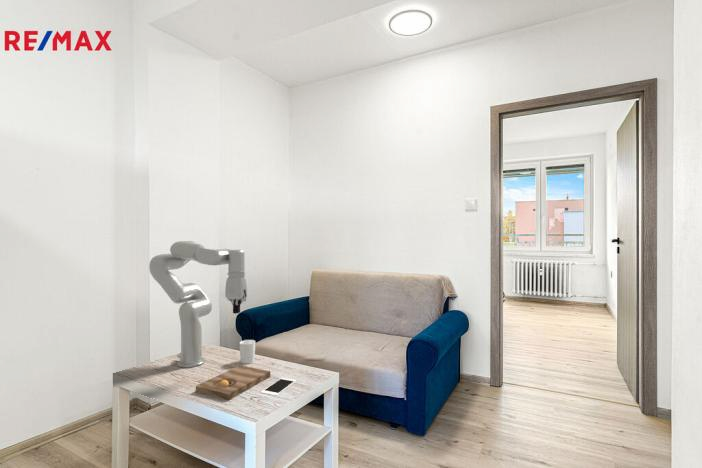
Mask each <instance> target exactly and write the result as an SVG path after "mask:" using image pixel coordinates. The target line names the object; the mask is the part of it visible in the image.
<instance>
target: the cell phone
mask: <svg viewBox="0 0 702 468" xmlns="http://www.w3.org/2000/svg"><path fill="white" fill-rule="evenodd" d="M296 382H297V379H292V378H287V377H280V378H279V379H277V380H276V381H274V382H273V383H272V384H270V385H269V386H267V387H266V388H264V389H263V390H261V391H260V394H264V395H269V396H275V397H276V396H278V395H279V394H281V393H282V392H283V391H285V390H286V389H288V388H289V387H290V386H291V385H293V384H295V383H296Z"/></svg>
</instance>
